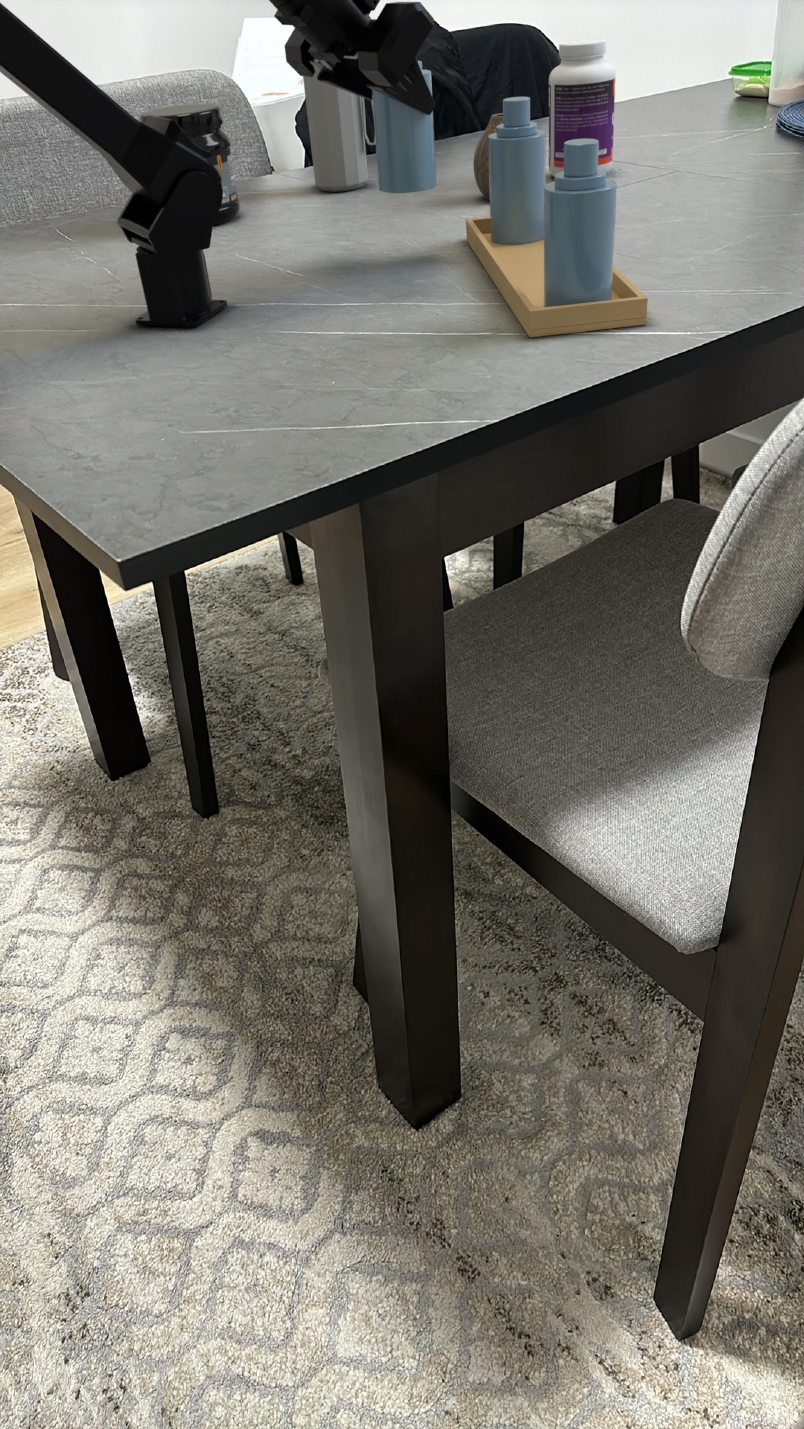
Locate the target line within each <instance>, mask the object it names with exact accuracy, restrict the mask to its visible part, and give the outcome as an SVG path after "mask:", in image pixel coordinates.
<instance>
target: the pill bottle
mask: <svg viewBox="0 0 804 1429" xmlns="http://www.w3.org/2000/svg"><path fill="white" fill-rule="evenodd" d="M606 46H607V40H606V39H602V38H592V39H590V38H589V39H588V38H587V39H578V40H570V41H564V42H560V43H559V45H558V55H559V56H558V57H559V59H560V64H559V65H557V66H555V67H554V68H553V69H552V70H551V71H550V73H549V75H548V172H549V173H550V175H551V176H552V177H554V176H555V174H556V173H559V172H561V171H564V143H565V142H566V141H569V140H574V139H596V140H598V141H599V146H598V169H601V170H604V171H606V172H607V174H608V173H609V172H610V171H611V169H612V167H613V159H614V131H615V130H614V127H615V98H616V70H615V67H614V66H613V65H612V64H611V63H610V62H608V61H606V60H605V59H604V56H605V55H606V52H607V49H606V48H607V47H606Z"/></svg>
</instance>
